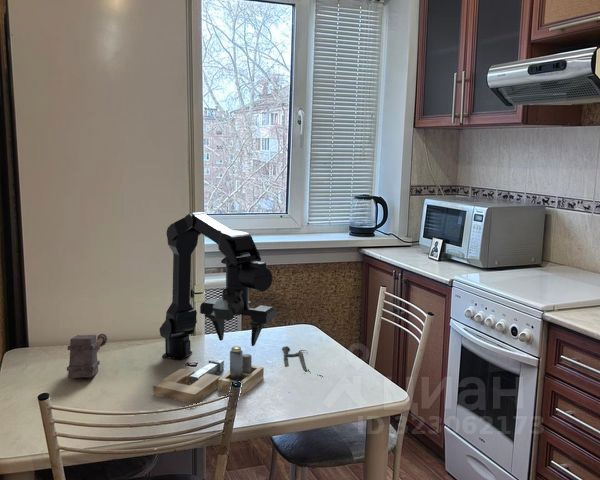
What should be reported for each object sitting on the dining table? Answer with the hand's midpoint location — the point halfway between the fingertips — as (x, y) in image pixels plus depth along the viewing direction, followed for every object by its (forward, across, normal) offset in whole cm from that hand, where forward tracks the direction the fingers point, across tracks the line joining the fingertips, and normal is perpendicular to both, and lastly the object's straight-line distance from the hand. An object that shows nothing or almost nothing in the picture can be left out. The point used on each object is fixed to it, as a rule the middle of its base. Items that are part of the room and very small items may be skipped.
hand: (237, 342), depth 147 cm
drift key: (+12, -10, +2) cm, 16 cm away
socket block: (+12, -10, -7) cm, 17 cm away
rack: (+12, 0, +2) cm, 12 cm away
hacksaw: (+13, +9, +22) cm, 27 cm away
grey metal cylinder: (+11, 0, -1) cm, 11 cm away
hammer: (+12, -46, -1) cm, 48 cm away
